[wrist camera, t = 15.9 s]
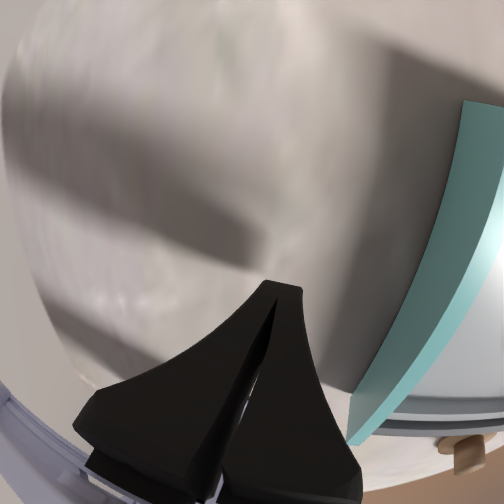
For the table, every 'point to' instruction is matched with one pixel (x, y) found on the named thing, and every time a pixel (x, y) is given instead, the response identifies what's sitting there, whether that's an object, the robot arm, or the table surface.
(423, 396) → the tray
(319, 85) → the table surface
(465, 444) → the disc stand
